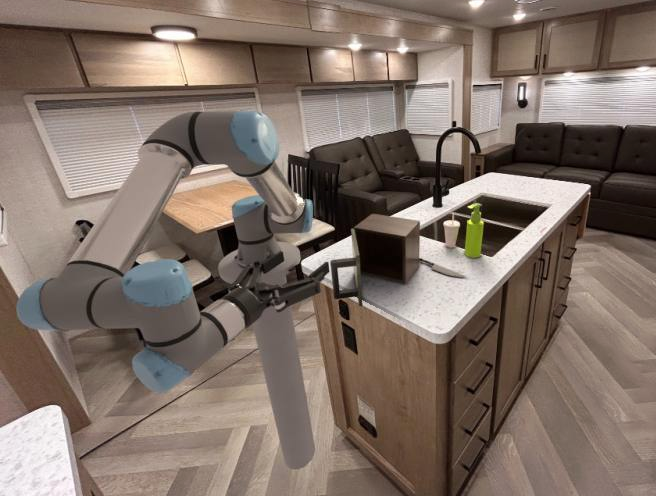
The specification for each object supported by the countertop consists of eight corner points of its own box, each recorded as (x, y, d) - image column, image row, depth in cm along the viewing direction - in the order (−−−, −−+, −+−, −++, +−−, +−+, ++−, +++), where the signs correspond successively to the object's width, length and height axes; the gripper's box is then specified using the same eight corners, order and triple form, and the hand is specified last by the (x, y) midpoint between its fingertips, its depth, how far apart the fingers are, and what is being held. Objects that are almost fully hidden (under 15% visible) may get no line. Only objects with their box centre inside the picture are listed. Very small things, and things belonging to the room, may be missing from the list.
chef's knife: (462, 281, 104) (466, 277, 106) (462, 279, 103) (466, 274, 105) (414, 263, 115) (419, 259, 117) (414, 260, 114) (419, 256, 116)
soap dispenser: (459, 253, 121) (463, 204, 113) (472, 248, 125) (476, 200, 117) (471, 260, 117) (475, 208, 109) (483, 254, 120) (489, 204, 113)
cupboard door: (334, 309, 91) (329, 258, 85) (333, 276, 107) (328, 230, 101) (362, 306, 92) (359, 255, 86) (357, 273, 109) (354, 228, 102)
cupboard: (405, 284, 103) (405, 236, 96) (356, 272, 109) (353, 227, 103) (419, 264, 114) (420, 220, 107) (374, 255, 120) (372, 213, 114)
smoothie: (449, 250, 123) (451, 217, 118) (439, 244, 128) (440, 211, 123) (461, 246, 126) (464, 213, 121) (451, 240, 131) (453, 208, 126)
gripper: (192, 313, 66) (267, 264, 84) (287, 349, 57) (349, 285, 75) (182, 283, 63) (262, 238, 81) (281, 315, 54) (347, 257, 72)
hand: (304, 261), depth 78 cm, fingers open, 13 cm apart
